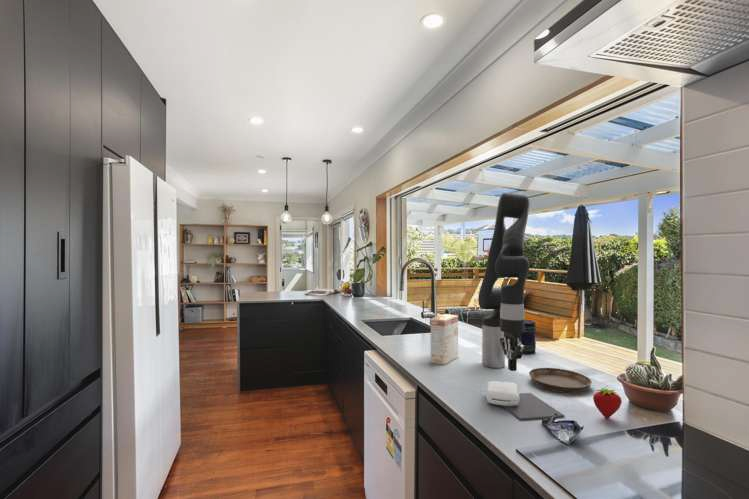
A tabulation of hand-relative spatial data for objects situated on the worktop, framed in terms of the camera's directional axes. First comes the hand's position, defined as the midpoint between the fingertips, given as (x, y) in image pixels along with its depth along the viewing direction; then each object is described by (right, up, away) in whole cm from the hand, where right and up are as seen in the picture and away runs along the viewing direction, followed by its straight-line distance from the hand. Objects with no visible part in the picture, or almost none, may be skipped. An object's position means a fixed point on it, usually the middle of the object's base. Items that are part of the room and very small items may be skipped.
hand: (512, 370), depth 124 cm
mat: (+3, -10, -4) cm, 11 cm away
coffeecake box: (-13, -11, +47) cm, 50 cm away
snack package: (+5, -10, -22) cm, 25 cm away
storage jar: (+28, -11, +61) cm, 68 cm away
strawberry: (+23, -10, -13) cm, 28 cm away
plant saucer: (+23, -11, +16) cm, 30 cm away
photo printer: (-1, -7, +5) cm, 9 cm away
